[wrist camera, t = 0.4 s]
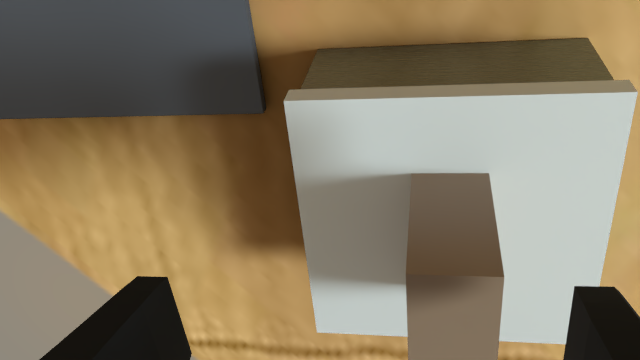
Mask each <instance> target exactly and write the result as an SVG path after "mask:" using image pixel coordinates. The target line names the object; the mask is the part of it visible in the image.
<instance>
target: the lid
mask: <svg viewBox="0 0 640 360" xmlns="http://www.w3.org/2000/svg"><path fill="white" fill-rule="evenodd" d="M637 93H638V92H637V90H636V89H635V87H634V86H633V84H632V83H631V82H630V80H607V81H572V82H538V83H503V84H469V85H434V86H399V87H365V88H330V89H296V90H289V91H288V93H287V95H286V97H285V99H284V108H285V115H286V122H287V129H288V135H289V142H290V149H291V156H292V163H293V170H294V177H295V183H296V190H297V197H298V204H299V211H300V218H301V225H302V232H303V238H304V245H305V252H306V259H307V266H308V273H309V280H310V287H311V293H312V300H313V307H314V314H315V321H316V328H317V332H321V333H342V334H363V335H384V336H405V337H408V360H497V359H498V347H499V341H509V342H530V343H550V344H566V339H567V333H568V326H569V319H570V313H571V306H572V299H573V293H574V286H596V287H599V285H600V280H601V275H602V269H603V264H604V259H605V254H606V249H607V244H608V239H609V234H610V229H611V224H612V219H613V214H614V209H615V204H616V199H617V194H618V189H619V184H620V179H621V173H622V168H623V163H624V158H625V153H626V148H627V143H628V138H629V133H630V128H631V123H632V118H633V113H634V108H635V103H636V98H637Z"/></svg>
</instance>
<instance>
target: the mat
mask: <svg viewBox="0 0 640 360" xmlns="http://www.w3.org/2000/svg"><path fill="white" fill-rule="evenodd" d="M265 109H266V104H265V98H264V92H263V86H262V80H261V74H260V67H259V61H258V55H257V49H256V43H255V37H254V31H253V25H252V18H251V12H250V6H249V0H0V119H26V118H72V117H119V116H165V115H212V114H258V113H264V111H265Z"/></svg>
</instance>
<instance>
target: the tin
mask: <svg viewBox="0 0 640 360" xmlns="http://www.w3.org/2000/svg"><path fill="white" fill-rule="evenodd" d="M607 80H614V79H613V77H612V76H611V74H610V73H609V71H608V69H607V68H606V66H605V65H604V63H603V61H602V60H601V58H600V57H599V55H598V53H597V52H596V50H595V49H594V47H593V45H592V44H591V42H590V41H589V39H588V38H580V39H556V40H531V41H507V42H483V43H459V44H435V45H411V46H387V47H363V48H338V49H318V50H317V53H316V55H315V57H314V59H313V62H312V64H311V66H310V68H309V71H308V73H307V75H306V78H305V80H304V82H303V84H302V87H301V89H330V88H365V87H399V86H434V85H469V84H503V83H538V82H572V81H607Z"/></svg>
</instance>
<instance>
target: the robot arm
mask: <svg viewBox="0 0 640 360" xmlns="http://www.w3.org/2000/svg"><path fill="white" fill-rule="evenodd" d="M191 354H192V353H191V350H190V346H189V343H188V340H187V337H186V334H185V331H184V328H183V325H182V321H181V318H180V315H179V312H178V309H177V306H176V303H175V300H174V296H173V293H172V290H171V287H170V284H169V281H168V278H167V277H141V276H137V277H136V278H135V279H134V280H132V281H131V282H130V283H129V284H127V285H126V286H125V287H124V288H123V289H121V290H120V291H119V292H118V293H117V294H116V295H114V296H113V297H112V298H111V299H110V300H109V301H107V302H106V303H105V304H104V305H103V306H102V307H100V308H99V309H98V310H97V311H96V312H95V313H94V314H92V315H91V316H90V317H89V318H88V319H87V320H86V321H84V322H83V323H82V324H81V325H80V326H79V327H78V328H76V329H75V330H74V331H73V332H72V333H70V334H69V335H68V336H67V337H66V338H64V339H63V340H62V341H61V342H60V343H59V344H58V345H56V346H55V347H54V348H53V349H52V350H50V351H49V352H48V353H47V354H46V355H44V356H43V357H42V358H41V359H40V360H190V357H191ZM563 360H640V317H639V316H638V314H637V313H636V312H635V311H634V309H633V308H632V307H631V306H630V304H629V303H628V302H627V300H626V299H625V298H624V297H623V295H622V294H621V293H620V292H619V291H618V290H617V289H616V288H615V287H596V286H574V293H573V299H572V306H571V313H570V319H569V326H568V333H567V339H566V346H565V353H564V359H563Z"/></svg>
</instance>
